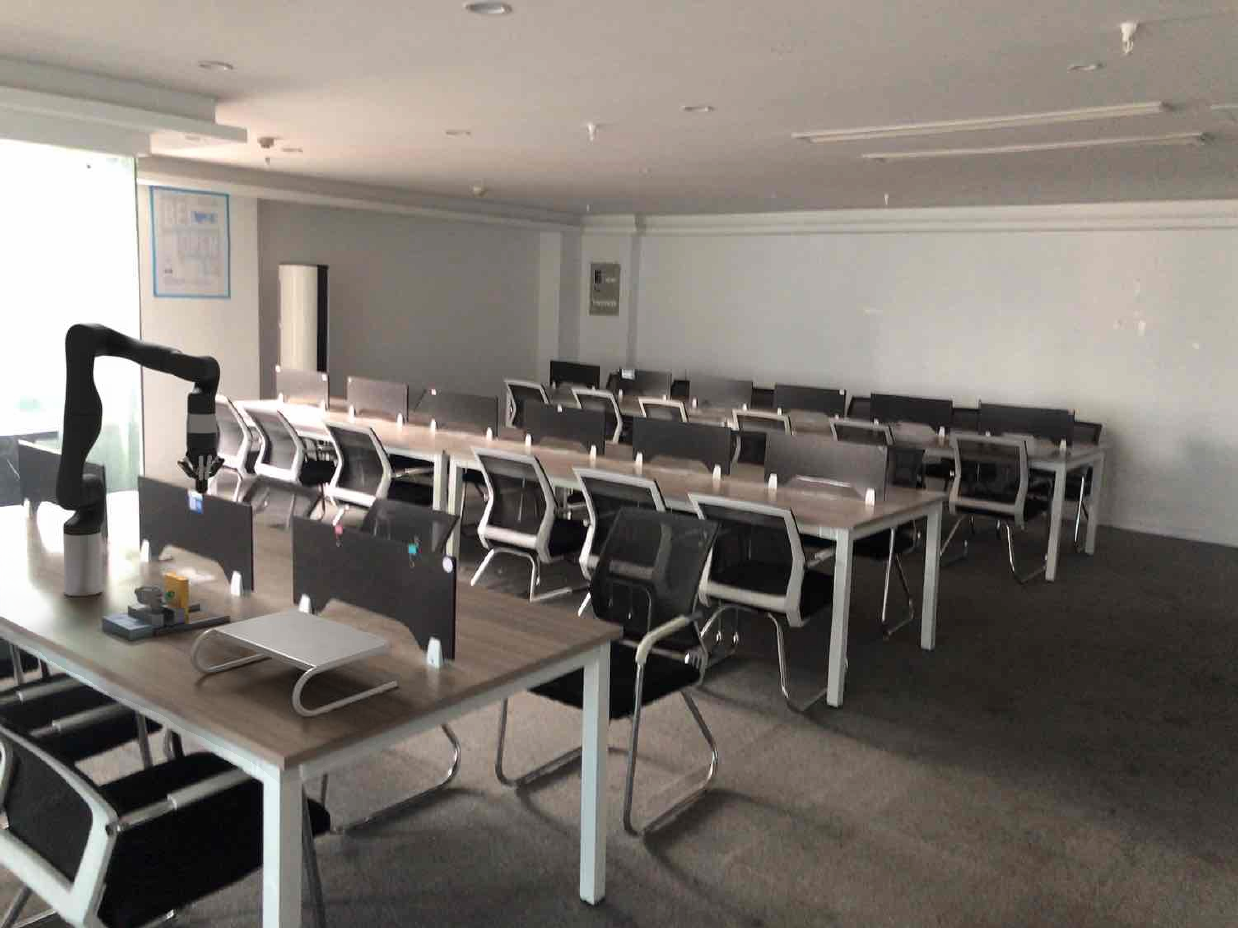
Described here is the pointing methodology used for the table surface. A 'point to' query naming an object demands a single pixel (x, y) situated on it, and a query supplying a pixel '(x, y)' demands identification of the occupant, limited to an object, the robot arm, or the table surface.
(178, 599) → the free jaw
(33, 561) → the table surface
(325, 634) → the monitor stand
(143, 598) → the mechanical component
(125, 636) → the vise body
